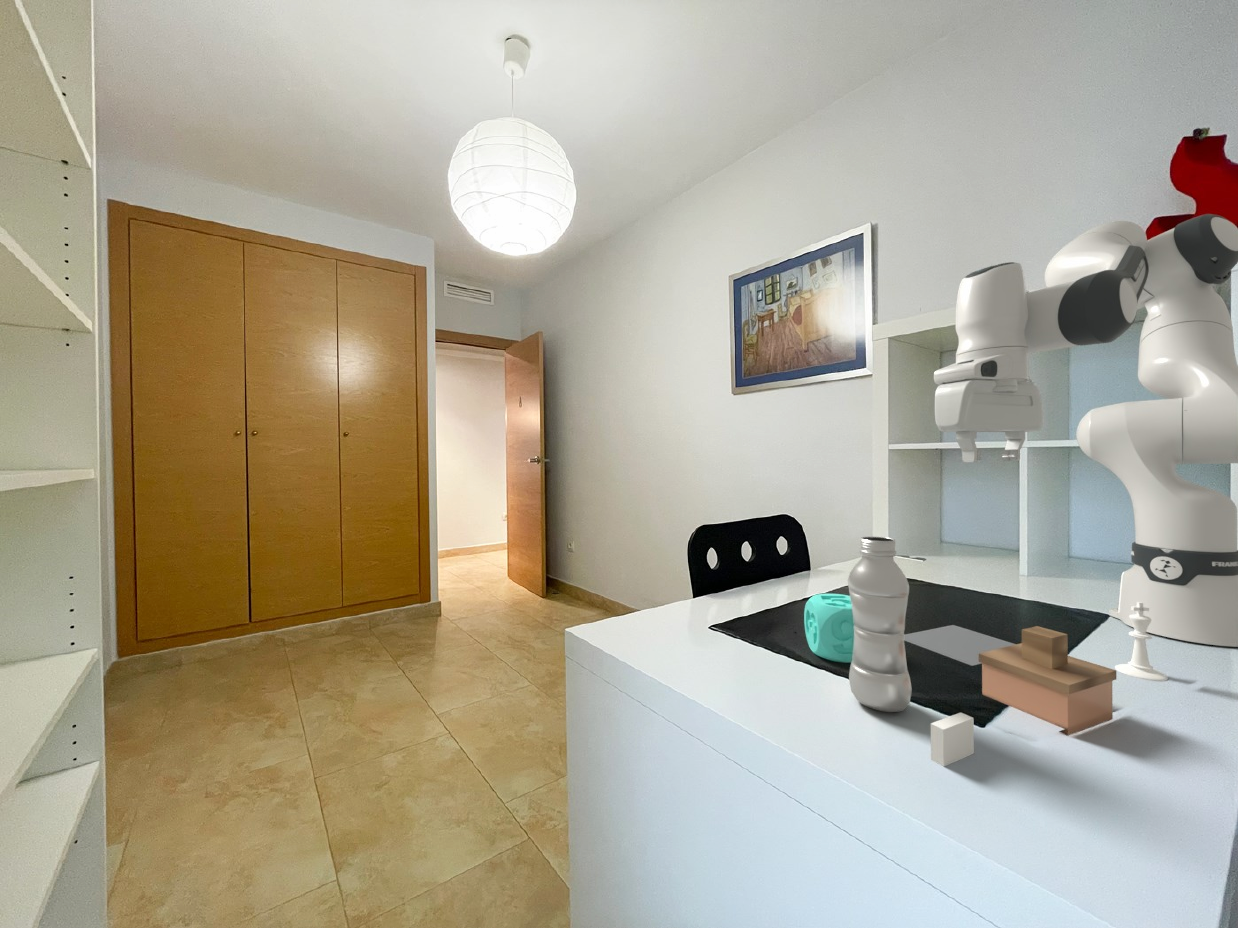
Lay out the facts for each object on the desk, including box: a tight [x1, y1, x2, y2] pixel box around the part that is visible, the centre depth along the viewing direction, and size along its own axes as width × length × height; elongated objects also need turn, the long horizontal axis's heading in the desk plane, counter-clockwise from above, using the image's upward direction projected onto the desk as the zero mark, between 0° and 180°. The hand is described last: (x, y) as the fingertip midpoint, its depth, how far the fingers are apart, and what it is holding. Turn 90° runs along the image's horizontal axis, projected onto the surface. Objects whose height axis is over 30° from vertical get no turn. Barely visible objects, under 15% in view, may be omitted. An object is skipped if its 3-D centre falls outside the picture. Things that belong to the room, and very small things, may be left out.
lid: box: [979, 625, 1117, 694], centre depth 56 cm, size 9×9×4 cm
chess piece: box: [1114, 602, 1169, 682], centre depth 64 cm, size 5×5×10 cm
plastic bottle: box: [847, 536, 913, 713], centre depth 58 cm, size 6×7×20 cm
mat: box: [904, 624, 1016, 667], centre depth 75 cm, size 14×12×1 cm
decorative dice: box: [803, 593, 854, 664], centre depth 74 cm, size 8×8×8 cm
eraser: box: [930, 712, 975, 767], centre depth 48 cm, size 1×5×4 cm, turn 115°
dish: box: [981, 663, 1114, 736], centre depth 56 cm, size 8×8×4 cm
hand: (991, 461), depth 74 cm, fingers open, 8 cm apart
